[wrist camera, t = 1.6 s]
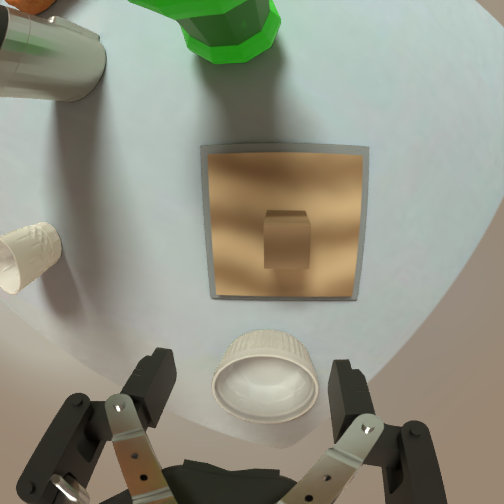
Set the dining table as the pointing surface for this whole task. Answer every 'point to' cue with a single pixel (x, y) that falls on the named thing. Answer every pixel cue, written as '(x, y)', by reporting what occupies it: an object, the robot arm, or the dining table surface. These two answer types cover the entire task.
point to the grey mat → (283, 148)
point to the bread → (31, 5)
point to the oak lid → (285, 223)
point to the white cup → (27, 255)
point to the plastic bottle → (222, 26)
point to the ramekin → (265, 378)
